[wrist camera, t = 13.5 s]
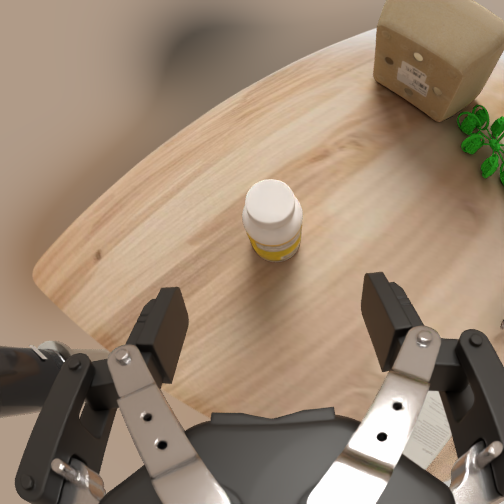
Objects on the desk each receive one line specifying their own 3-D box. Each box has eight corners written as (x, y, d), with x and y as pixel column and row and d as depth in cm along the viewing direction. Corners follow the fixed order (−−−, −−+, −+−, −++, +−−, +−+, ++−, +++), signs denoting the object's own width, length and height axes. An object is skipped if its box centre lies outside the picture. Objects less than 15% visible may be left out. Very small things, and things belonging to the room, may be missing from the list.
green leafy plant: (531, 192, 29) (554, 173, 23) (476, 196, 31) (501, 173, 24) (496, 118, 34) (512, 95, 27) (437, 112, 35) (452, 84, 28)
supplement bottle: (255, 214, 33) (243, 168, 24) (303, 220, 32) (308, 174, 23) (247, 260, 32) (230, 227, 23) (297, 266, 31) (301, 236, 22)
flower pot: (496, 75, 17) (515, 28, 16) (355, -5, 23) (405, -34, 21) (448, 147, 36) (479, 94, 34) (354, 82, 41) (397, 39, 40)
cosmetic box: (439, 371, 19) (324, 505, 16) (477, 402, 17) (371, 528, 15) (404, 368, 27) (317, 471, 24) (438, 394, 25) (355, 493, 22)
